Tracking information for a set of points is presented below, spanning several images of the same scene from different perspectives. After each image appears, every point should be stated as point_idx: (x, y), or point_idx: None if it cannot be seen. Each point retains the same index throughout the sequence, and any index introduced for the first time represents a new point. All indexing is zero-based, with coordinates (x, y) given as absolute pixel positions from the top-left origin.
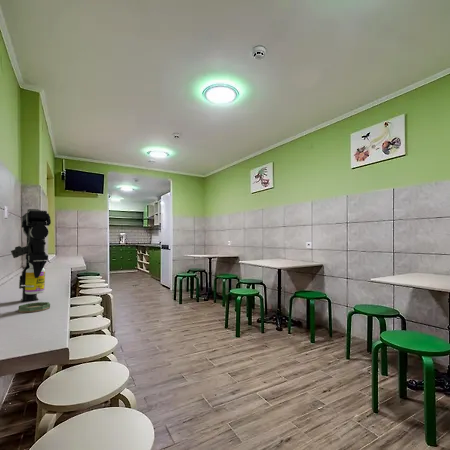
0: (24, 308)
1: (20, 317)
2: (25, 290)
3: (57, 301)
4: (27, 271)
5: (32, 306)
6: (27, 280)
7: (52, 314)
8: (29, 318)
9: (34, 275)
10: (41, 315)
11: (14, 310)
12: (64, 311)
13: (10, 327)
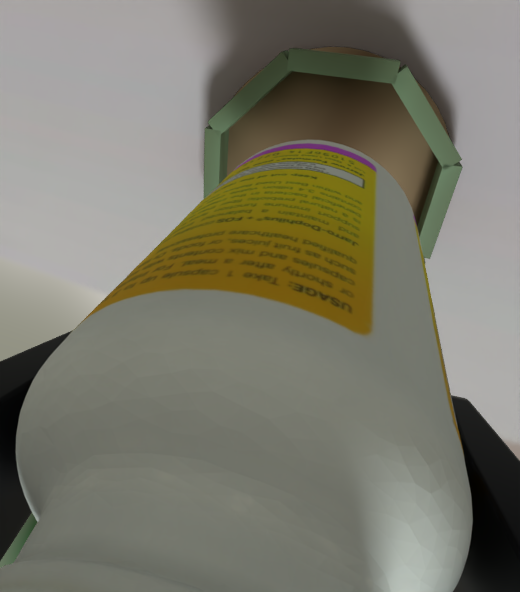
0: (243, 90)
1: (80, 23)
2: (294, 147)
3: (505, 390)
4: (115, 317)
5: (407, 190)
6: (199, 212)
7: (58, 218)
8: (13, 75)
9: (62, 339)
10: (65, 161)
11: (446, 25)
12: (103, 289)
13: None
